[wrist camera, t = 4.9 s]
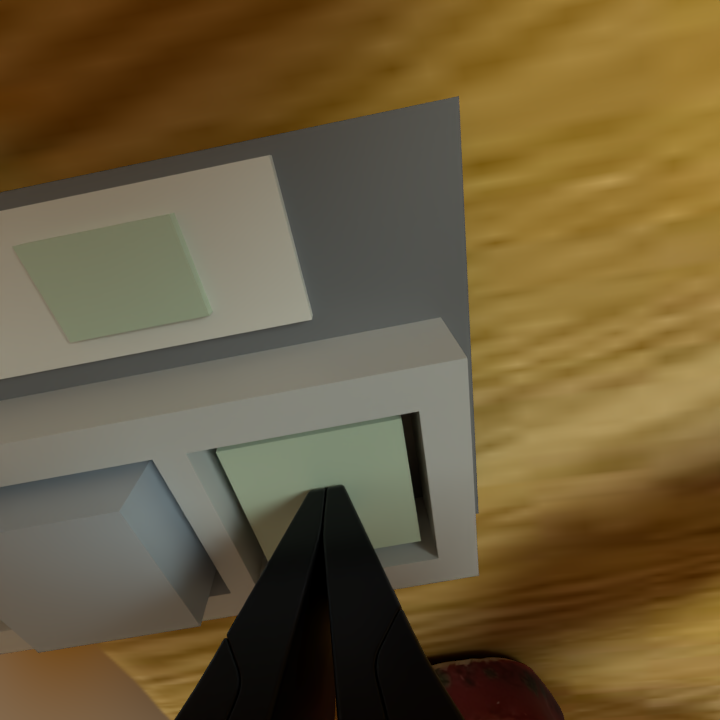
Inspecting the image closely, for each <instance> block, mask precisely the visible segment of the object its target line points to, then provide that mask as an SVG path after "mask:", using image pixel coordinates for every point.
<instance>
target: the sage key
mask: <svg viewBox="0 0 720 720" xmlns="http://www.w3.org/2000/svg"><path fill="white" fill-rule="evenodd" d="M216 454H217V456H218V458H219V460H220V462H221V464H222V466H223V468H224V470H225V473H226V475H227V477H228V479H229V481H230V483H231V485H232V487H233V489H234V491H235V493H236V496H237V498H238V500H239V502H240V504H241V506H242V508H243V510H244V512H245V514H246V517H247V519H248V521H249V523H250V525H251V527H252V529H253V531H254V533H255V535H256V537H257V540H258V542H259V544H260V546H261V548H262V550H263V552H264V554H265V556H266V558H267V561H269V560H270V558H271V556H272V554H273V553H274V551H275V549H276V547H277V546H278V544H279V542H280V541H281V539H282V537H283V535H284V534H285V532H286V530H287V528H288V527H289V525H290V523H291V521H292V520H293V518H294V516H295V514H296V513H297V511H298V509H299V507H300V506H301V504H302V502H303V500H304V499H305V497H306V495H307V493H308V492H309V491H310V490H315V489H321V488H325V489H327V488H328V487H332V486H338V485H344V486H345V488H346V490H347V492H348V495H349V497H350V499H351V501H352V503H353V505H354V507H355V509H356V512H357V514H358V516H359V518H360V520H361V522H362V524H363V526H364V528H365V531H366V533H367V535H368V537H369V539H370V541H371V543H372V545H373V548H374V549H376V548H382V547H388V546H394V545H400V544H406V543H412V542H418V541H421V537H420V531H419V525H418V519H417V512H416V506H415V500H414V494H413V487H412V481H411V475H410V469H409V463H408V456H407V450H406V444H405V438H404V431H403V425H402V419H401V415H396V416H390V417H385V418H379V419H374V420H368V421H363V422H357V423H352V424H346V425H341V426H335V427H330V428H324V429H319V430H313V431H307V432H302V433H296V434H291V435H285V436H280V437H274V438H269V439H263V440H258V441H252V442H247V443H241V444H236V445H230V446H225V447H219V448H217V450H216Z"/></svg>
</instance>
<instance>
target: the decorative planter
mask: <svg viewBox="0 0 720 720" xmlns="http://www.w3.org/2000/svg"><path fill="white" fill-rule="evenodd" d="M432 667H433V669H434V670H435V672H436V674H437V675H438V677H439V679H440V681H441V682H442V684H443V686H444V687H445V689H446V690H447V692H448V694H449V695H450V697H451V698H452V700H453V702H454V703H455V705H456V706H457V708H458V709H459V711H460V713H461V714H462V716H463V717H464V719H465V720H564V716H563V713H562V711H561V709H560V707H559V705H558V704H557V702H556V700H555V699H554V697H553V696H552V694H551V693H550V691H549V690H548V689H547V687H546V686H545V684H544V683H543V682H542V681H541V679H540V678H539V677H538V676H537V675H536V674H535V672H534V671H533V670H532V669H531V668H530V667H528V666H527V665H525V664H523V663H520V662H517V661H514V660H509V659H506V658H496V657H487V658H482V659H467V660H460V661H451V662H444V663H440V664H435V665H432Z"/></svg>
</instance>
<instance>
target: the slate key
mask: <svg viewBox="0 0 720 720" xmlns="http://www.w3.org/2000/svg"><path fill="white" fill-rule="evenodd" d="M216 570H217V568H216V567H215V565H214V563H213V562H212V560H211V558H210V557H209V555H208V553H207V551H206V550H205V548H204V546H203V545H202V543H201V541H200V540H199V538H198V536H197V534H196V533H195V531H194V529H193V528H192V526H191V524H190V523H189V521H188V519H187V518H186V516H185V514H184V512H183V511H182V509H181V507H180V506H179V504H178V502H177V501H176V499H175V497H174V495H173V494H172V492H171V490H170V489H169V487H168V485H167V484H166V482H165V480H164V479H163V477H162V475H161V473H160V472H159V470H158V468H157V467H156V465H155V463H154V462H153V460H147V461H142V462H136V463H131V464H125V465H120V466H114V467H109V468H103V469H98V470H92V471H87V472H81V473H76V474H70V475H65V476H59V477H54V478H48V479H43V480H37V481H31V482H26V483H20V484H15V485H9V486H4V487H0V620H1V621H2V622H4V623H5V624H6V625H7V626H8V627H9V628H10V629H12V630H13V631H14V632H15V633H16V634H17V635H19V636H20V637H21V638H22V639H23V640H24V641H25V642H27V643H28V644H29V645H30V646H31V647H32V648H34V649H35V650H36V651H37V652H38V653H39V652H46V651H52V650H58V649H64V648H70V647H76V646H82V645H88V644H94V643H101V642H107V641H113V640H119V639H125V638H131V637H137V636H143V635H149V634H155V633H161V632H167V631H174V630H180V629H186V628H192V627H198V626H201V622H202V619H203V615H204V612H205V608H206V605H207V601H208V598H209V594H210V591H211V587H212V584H213V581H214V577H215V574H216Z"/></svg>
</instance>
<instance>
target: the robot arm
mask: <svg viewBox="0 0 720 720" xmlns="http://www.w3.org/2000/svg"><path fill="white" fill-rule="evenodd" d="M227 638H228V639H227ZM227 638H225V639H224V640H223V641H222V643H221V645H220V647H219V648H218V650H217V652H216V654H215V655H214V657H213V659H212V661H211V662H210V664H209V666H208V667H207V669H206V671H205V672H204V674H203V676H202V677H201V679H200V681H199V682H198V684H197V686H196V687H195V689H194V691H193V692H192V694H191V695H190V697H189V698H188V700H187V701H186V703H185V704H184V706H183V707H182V709H181V710H180V712H179V713H178V715H177V717H176V718H175V720H334V719H335V695H336V706H337V718H338V720H465V719H464V717H463V716H462V714H461V713H460V711H459V709H458V708H457V706H456V705H455V703H454V702H453V700H452V698H451V697H450V695H449V694H448V692H447V690H446V689H445V687H444V686H443V684H442V682H441V681H440V679H439V677H438V675H437V674H436V672H435V670H434V669H433V667H432V665H431V664H430V662H429V660H428V659H427V657H426V655H425V653H424V651H423V649H422V647H421V645H420V643H419V641H418V639H417V638H416V636H415V634H414V632H413V630H412V628H411V626H410V623H409V621H408V619H407V617H406V615H405V613H404V611H403V610H402V607H401V605H400V603H399V601H398V598H397V596H396V594H395V592H394V590H393V588H392V586H391V584H390V581H389V579H388V577H387V575H386V573H385V571H384V569H383V567H382V564H381V562H380V560H379V558H378V556H377V554H376V552H375V550H374V548H373V545H372V543H371V541H370V539H369V537H368V535H367V533H366V531H365V528H364V526H363V524H362V522H361V520H360V518H359V516H358V514H357V512H356V509H355V507H354V505H353V503H352V501H351V499H350V497H349V495H348V492H347V490H346V488H345V486H344V485H338V486H332V487H328V488H327V489H325V488H321V489H315V490H310V491H309V492H308V493H307V495H306V497H305V499H304V500H303V502H302V504H301V506H300V507H299V509H298V511H297V513H296V514H295V516H294V518H293V520H292V521H291V523H290V525H289V527H288V528H287V530H286V532H285V534H284V535H283V537H282V539H281V541H280V542H279V544H278V546H277V547H276V549H275V551H274V553H273V554H272V556H271V558H270V560H269V561H268V563H267V565H266V567H265V568H264V570H263V572H262V574H261V575H260V577H259V579H258V581H257V582H256V584H255V586H254V588H253V589H252V591H251V593H250V595H249V596H248V598H247V600H246V602H245V603H244V605H243V607H242V609H241V610H240V612H239V614H238V616H237V617H236V619H235V621H234V623H233V624H232V626H231V628H230V630H229V631H228V633H227Z"/></svg>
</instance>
